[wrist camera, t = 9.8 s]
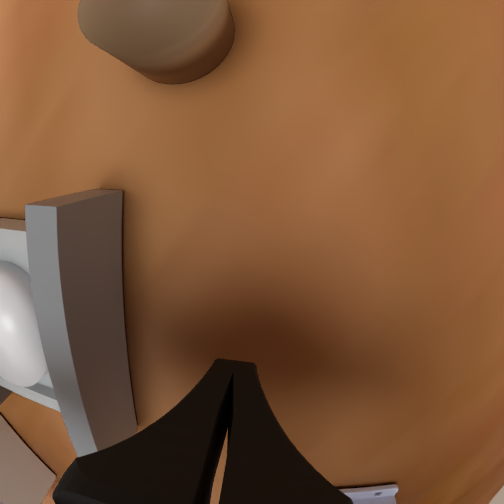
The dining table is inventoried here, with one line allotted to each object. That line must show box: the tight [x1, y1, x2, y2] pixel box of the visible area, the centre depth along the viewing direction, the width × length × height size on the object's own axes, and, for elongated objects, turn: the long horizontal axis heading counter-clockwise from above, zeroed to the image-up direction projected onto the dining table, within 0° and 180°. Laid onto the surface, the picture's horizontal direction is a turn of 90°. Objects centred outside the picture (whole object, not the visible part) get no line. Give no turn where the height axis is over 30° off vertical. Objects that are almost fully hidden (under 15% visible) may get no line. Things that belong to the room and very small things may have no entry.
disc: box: [0, 261, 48, 387], centre depth 11 cm, size 6×6×2 cm
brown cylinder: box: [78, 0, 235, 84], centre depth 8 cm, size 4×4×4 cm
